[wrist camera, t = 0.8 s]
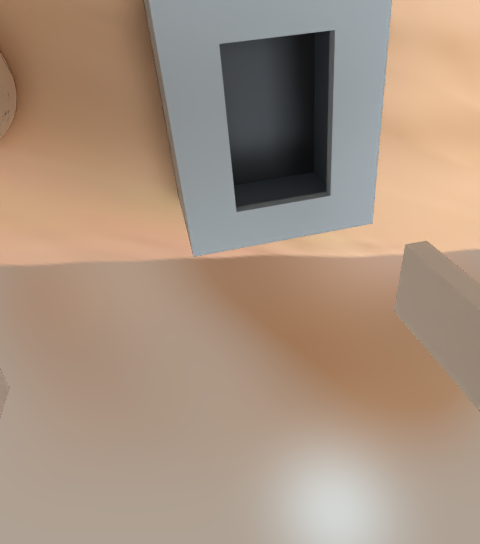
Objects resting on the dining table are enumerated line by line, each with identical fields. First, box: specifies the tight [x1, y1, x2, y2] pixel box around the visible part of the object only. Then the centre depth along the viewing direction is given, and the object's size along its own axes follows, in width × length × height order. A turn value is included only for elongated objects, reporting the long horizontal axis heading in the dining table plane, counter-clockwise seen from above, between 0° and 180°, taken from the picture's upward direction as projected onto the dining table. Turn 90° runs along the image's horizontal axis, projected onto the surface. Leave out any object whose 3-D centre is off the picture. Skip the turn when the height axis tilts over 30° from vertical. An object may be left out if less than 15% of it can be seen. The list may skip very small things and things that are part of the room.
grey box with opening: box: [143, 0, 392, 257], centre depth 28 cm, size 14×12×10 cm
